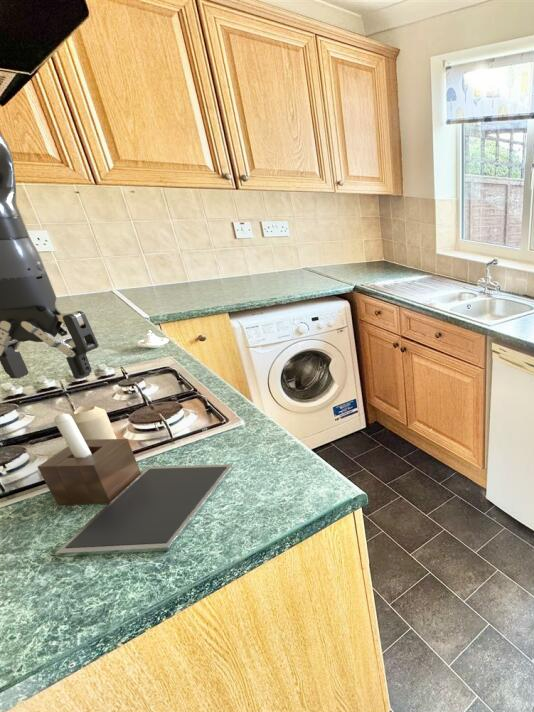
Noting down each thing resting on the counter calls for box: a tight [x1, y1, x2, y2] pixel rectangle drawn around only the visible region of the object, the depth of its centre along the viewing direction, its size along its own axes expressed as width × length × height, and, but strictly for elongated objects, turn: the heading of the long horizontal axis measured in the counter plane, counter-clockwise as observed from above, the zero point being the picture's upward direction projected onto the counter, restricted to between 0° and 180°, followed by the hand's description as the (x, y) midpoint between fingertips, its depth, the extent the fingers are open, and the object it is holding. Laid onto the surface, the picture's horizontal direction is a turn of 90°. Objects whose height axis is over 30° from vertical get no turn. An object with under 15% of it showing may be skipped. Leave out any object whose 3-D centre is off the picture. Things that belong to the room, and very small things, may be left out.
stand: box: [37, 438, 142, 507], centre depth 73 cm, size 8×8×8 cm
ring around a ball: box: [136, 330, 169, 349], centre depth 134 cm, size 8×6×8 cm
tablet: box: [54, 463, 235, 558], centre depth 71 cm, size 15×21×1 cm
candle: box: [69, 404, 118, 440], centre depth 82 cm, size 6×6×10 cm
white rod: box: [53, 413, 92, 458], centre depth 70 cm, size 2×2×16 cm
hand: (52, 376), depth 65 cm, fingers open, 8 cm apart
